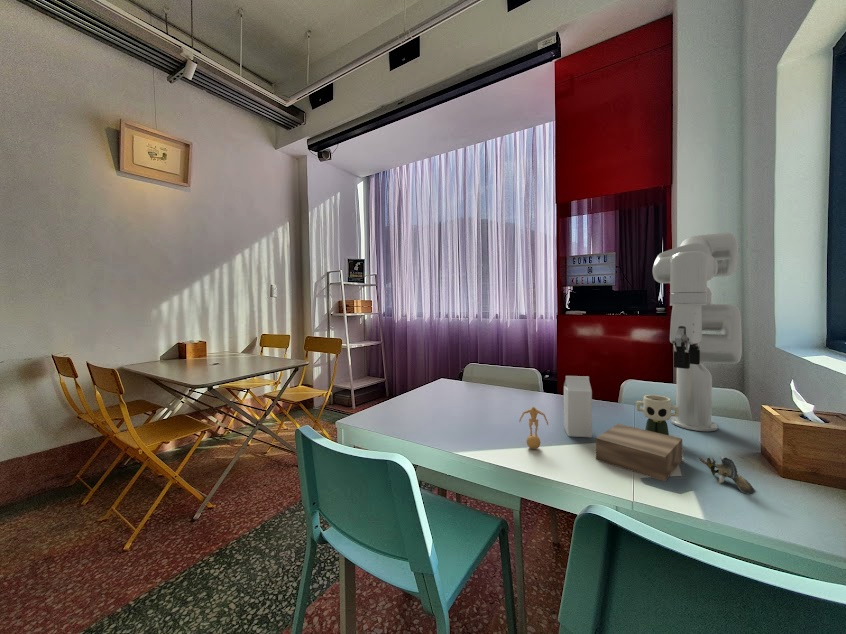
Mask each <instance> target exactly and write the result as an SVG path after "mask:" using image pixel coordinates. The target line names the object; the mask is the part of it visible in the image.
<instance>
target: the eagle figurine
mask: <svg viewBox="0 0 846 634" xmlns="http://www.w3.org/2000/svg"><path fill="white" fill-rule="evenodd" d="M719 458H720V460H721V463H720V464H718V463H717V461H716V460H715V458H714V457H712V460H711V458H710V457H707V458H706V460H704V459H702V458H701V457H700V456H699V457H698V459H699V461H700V463H702V464H705V465H706V467H707V468H709V470H710V472H711V474H712V476H715V475H716V474H718V485H721V484H723V483H724V482H725V479H726V478H729V479H731V480H732V481H733V482H734V484H735V485H736V486H737V488H738V489H739V491H740V492H741V493H744V494H748V495H749V496H751V495H754V494H755V489H754V487H753V486H752V485H751V483H750V482H749V481H748V480H747V479H746V478H744V477H743V476H741V475H740V474H739V473H738V469H737V467H736V465H735V463H734V461H733V460H732V459H730V458H728V457H723V456H722V455H719Z"/></svg>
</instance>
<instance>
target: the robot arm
mask: <svg viewBox="0 0 846 634" xmlns="http://www.w3.org/2000/svg"><path fill="white" fill-rule="evenodd" d="M738 257H739V243H738V240H737V238H736V236H735V235H734V234H733V233H731V232H717V233H708V234H701V235H694V236H693V235H692V236H690V237H689V236H688V238H685V239H684V240H683V241H682V242H681V243H680V245H679V246H677V247H674V248H671V249H668V250H665V251H663V252H660V253H659V254H657V256H656V258H655V260H654V263H653V266H652V276H653V280H654V281H656V282H657V283H659V284H669V286H670V287H669V288H670V289H669V292H670V293H669V306H672V309H671V314H670V315H671V316H670V326H669V327H670V329H669V342H670V343H671V344H673V367H674V368H676V396H675V397H676V401H675V403H676V405H675V406H678V407H679V415H678V416H677V417H676V416H671V418H670V422H671V423H672V424H673V425H675V426H677V427H679V428H683V429H686V430H690V431H691V430H692V431H698V432H714V431H717V430H718V424H717V423H715V422H713V421H712V416H713V415H712V409H713V404H712V402H713V401H712V399H713V397H712V396H713V395H712V394H713V391H712V390H713V377H712V374H711V373H712V372H710V371H709V369H708V368H706V366H705V365H704V364H705V363H707V364H708V363H710V364H723V365H724V364H725V365H732V364H733V365H736V364H738V363H739V362H740V361H741V358H742V354H743V343H742V341H743V340H742V338H743V335H742V333H743V332H742V315H741V311H740V309H739V307H737V306H736V305H734V304H731V303H712V297H713V296H712V294H713V293H712V290H711V289H710V288H709V287H708V281H710V280H712V279H713V278H716V277H717V278H720V277H722V278H723V277H729V276H732V275H733V274H735V272H736V270H737V269H738V260H739V259H738ZM703 332H705V333H703ZM707 332H708V333H707ZM711 332H712V333H711ZM710 333H711V334H710ZM713 333H719V334H713ZM720 333H721V334H720ZM703 363H704V364H703Z"/></svg>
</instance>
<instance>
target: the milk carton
mask: <svg viewBox="0 0 846 634" xmlns="http://www.w3.org/2000/svg"><path fill="white" fill-rule="evenodd" d="M563 429H564V431H565V433H566V434H567V437H575V438H576V437H577V438H578V437H579V438H592V436H593V390H592V386H591V383H590V376H588V375H587V376H584V375H583V376H580V375H579V376H578V375H565V380H564V382H563Z"/></svg>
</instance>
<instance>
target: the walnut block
mask: <svg viewBox="0 0 846 634" xmlns="http://www.w3.org/2000/svg"><path fill="white" fill-rule="evenodd" d="M595 460H597V461H599V462H603V463H606V464H609V465H612V466H616V467H618V468H621V469H624V470H627V471H630V472H634V473H636V474H640V475H643V476H646V477H650V478H652V479H656V480H659V481H661V482H666V481H667V480H668V478H670V476H671V475H672V474H673V472H674V471H675V470H676V469H677V468H678V466H679V465H680V464H681V462H682V461H683V438H680V437H679V436H678V437H677V436H672V435H670V434H669V435H665V434H660V433H656V432H652V431H647V430H645V429H642V428H638V427H635V426H631V425H625V424H621V423H617V424H615V425H614V426H612V427H610V428H609V429H608V430H606V431H605V432H603V433H601V434H600V435H598V436H596V437H595Z"/></svg>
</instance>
